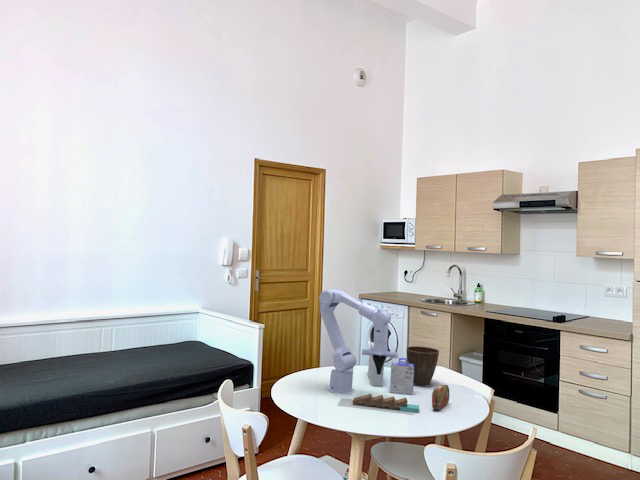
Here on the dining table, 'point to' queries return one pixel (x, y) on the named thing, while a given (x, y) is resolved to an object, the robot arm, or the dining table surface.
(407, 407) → the teal end tile
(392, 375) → the ink cartridge box
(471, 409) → the dining table surface
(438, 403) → the tin
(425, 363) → the plant pot
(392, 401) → the walnut tile
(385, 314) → the robot arm
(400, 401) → the walnut tile
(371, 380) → the skincare box
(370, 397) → the walnut tile
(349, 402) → the mat
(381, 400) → the walnut tile
